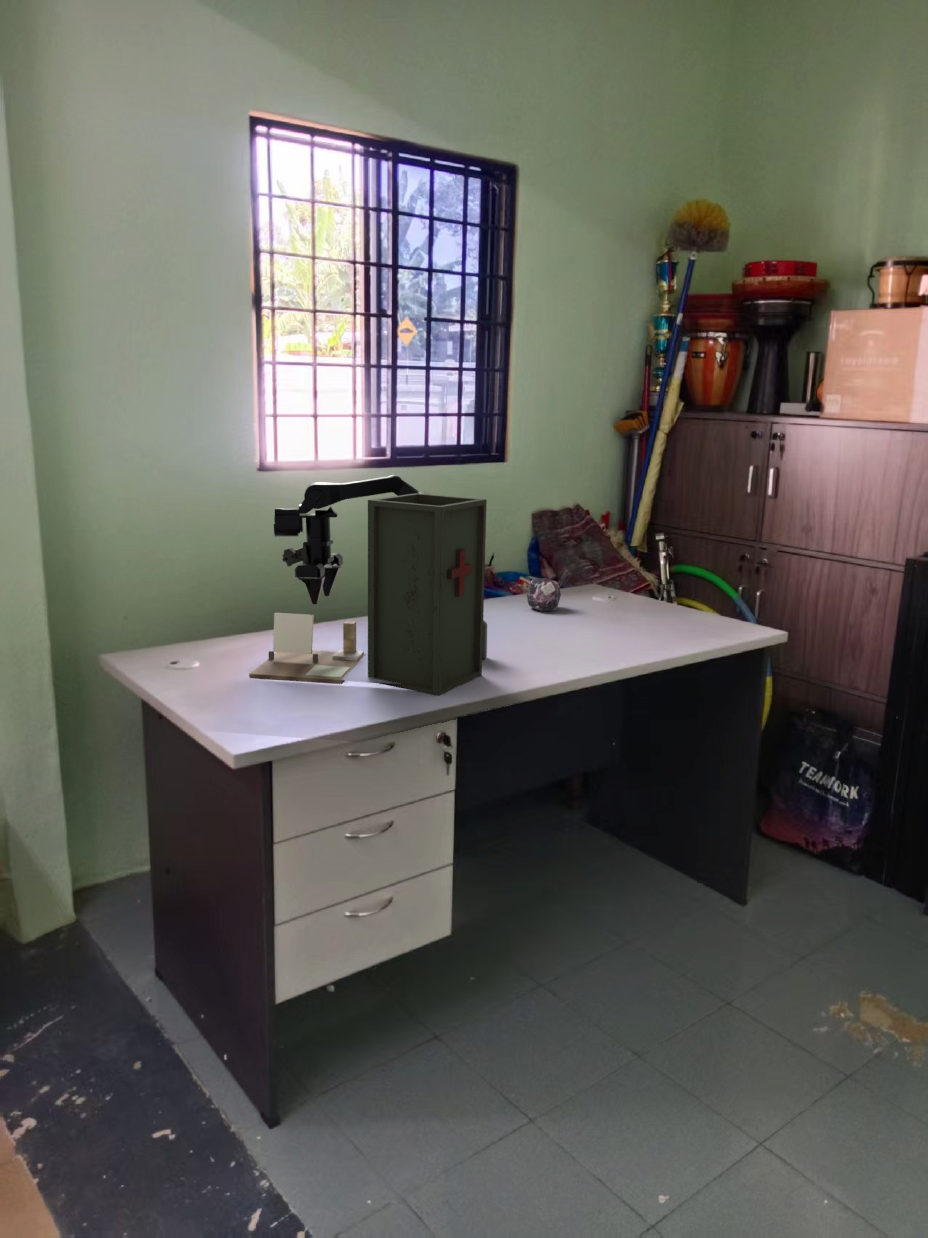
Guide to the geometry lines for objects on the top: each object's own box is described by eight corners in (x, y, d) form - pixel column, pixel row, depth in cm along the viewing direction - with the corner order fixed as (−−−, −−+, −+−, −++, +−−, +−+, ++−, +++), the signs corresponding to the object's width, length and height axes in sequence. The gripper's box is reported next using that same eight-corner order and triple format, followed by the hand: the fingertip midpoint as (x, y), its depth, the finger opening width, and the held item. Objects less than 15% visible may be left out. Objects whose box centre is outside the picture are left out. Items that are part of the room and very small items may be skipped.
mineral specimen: (522, 606, 285) (525, 573, 287) (529, 613, 295) (532, 581, 297) (555, 608, 282) (558, 574, 284) (561, 615, 292) (564, 582, 294)
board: (366, 657, 235) (366, 646, 234) (341, 684, 213) (341, 671, 213) (281, 652, 237) (281, 640, 237) (249, 678, 216) (249, 665, 216)
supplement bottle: (490, 656, 238) (491, 608, 236) (481, 663, 232) (483, 614, 229) (463, 653, 241) (464, 605, 238) (454, 660, 234) (455, 611, 232)
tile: (313, 614, 226) (312, 615, 225) (312, 653, 226) (310, 654, 225) (276, 612, 227) (274, 612, 226) (274, 651, 227) (272, 651, 226)
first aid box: (414, 662, 231) (416, 493, 222) (481, 675, 222) (486, 499, 213) (367, 681, 216) (367, 500, 207) (438, 695, 207) (441, 506, 198)
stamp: (363, 654, 234) (363, 621, 232) (357, 660, 228) (357, 627, 226) (339, 652, 235) (339, 620, 233) (332, 659, 229) (332, 626, 227)
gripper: (299, 529, 243) (301, 591, 247) (272, 541, 225) (275, 607, 229) (342, 530, 241) (344, 592, 245) (318, 542, 223) (320, 609, 227)
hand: (320, 600), depth 237 cm, fingers open, 9 cm apart
